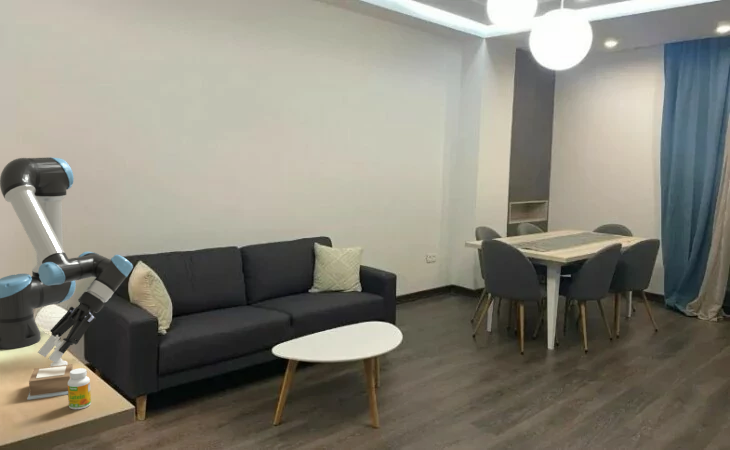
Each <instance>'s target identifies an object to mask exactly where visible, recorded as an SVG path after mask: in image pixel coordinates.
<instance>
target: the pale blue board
mask: <svg viewBox="0 0 730 450" xmlns="http://www.w3.org/2000/svg"><path fill="white" fill-rule="evenodd" d="M74 369H75V368H73V370H74ZM58 396H68V391H64V392H56V393H49V394H41V395H34V396H30V391H29V393H28V396H27V400H28V401H29V400H36V399H44V398H51V397H58Z"/></svg>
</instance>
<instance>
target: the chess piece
mask: <svg viewBox="0 0 730 450" xmlns="http://www.w3.org/2000/svg"><path fill="white" fill-rule="evenodd" d="M54 338H56V341H54V344H55V346H54V347H53V348H54V349H53V351H55V349H56V348H57V347H58V346H59V344H60V343H61V342H62V340H61V339H60V338H61V336H60V337H58V335H56V337H54ZM58 339H60V340H58ZM61 365H69V364H68V361H66V360H64V359H62V357H61V358H60V359H59V360H58V362H57V363H55V362H53V361H52V362H51V363H50V366H49V367H52V366H61Z"/></svg>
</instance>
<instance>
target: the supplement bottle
mask: <svg viewBox="0 0 730 450" xmlns="http://www.w3.org/2000/svg"><path fill="white" fill-rule="evenodd" d="M73 369H74V370H72V371H70V378H71V379H69V381H68V394H67V396H68V407H69V409H71V410H82V409H85V408H87V407H90V406H91V404H92V394H91V379H90V377H89V376H87V373H88V372H87V369H86V368H83V367H79V368H73Z"/></svg>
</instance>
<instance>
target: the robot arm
mask: <svg viewBox="0 0 730 450" xmlns="http://www.w3.org/2000/svg"><path fill="white" fill-rule="evenodd" d="M74 179H75V178H74V171H73V169H72V168H71V166H70V165H69V163H68V162H67V161H66V160H65V159H63V158H59V157H19V158H16V159H13V160H11V161H9V162H8V163H7V164H6V165H5V166H4V167H3V169H2V171H1V173H0V193H1V194H2V196H3V198H4V200H5V202H7V203H10V204H11V206H12V208H13V211H14V212H15V214H16V216H17V218H18V220H19V222H20V223H21V225H22V227H23V229H24V231H25V234H26V235H27V238H29V241H30V243H31V245H32V247H33V249H34V251H35V253H36V265H35V266H34V267H33V268H32V269H31V272H32V273H31V274H32V276H31V274H29V273H18V274H10V275H7V276H3V277H0V350H1V349H2V350H8V349H11V350H12V349H16V348H23V347H27V346H28V347H29V346H30V345H34V344H36V343H38V342H39V341H40V340H41V338H42V337H41V336H42V335H41V331H40V329H39V327H38V325H37V322H36V319H35V316H34V309H38V308H43V307H47V306H52V305H57V304H61V303H62V302H66V301H69V300H70V299H71V298H72V297H73V296H74V294H75V292H76V286H77V285H76V281H79V280H85V279H89V278H94V279H93V281H92V282H91V283H90V284H89V286H88V287H87V288H86V291H84V292H83V293H82V294H81V295H80V297H79V298H78V300H77V301H78V302H79V304H78V305H77V306H76V307H74V306H70V307H69V308H68V310H67V311H66V312H65V314H64V315H63V316H62V317H61V318H60V319H59V320H58V322H57V323H56V324H55V325H54V326H53V327H52V328H51V329H50V333H51V335H50V337H48V339H47V340H46V341H45V343H44V344H43V345H41V347H40V348H39V350H38V351H37V353H38V354H39V355H41V356H42V357H44V358H46V357H47V356H48V355H49V354H50V352H51V351H52V350H53V348H56V346H55V344H54V341H56V338H54V337H56V335H58V337H60V339H58V340H61V336H63V335H64V334H65V333H66V332H67V331H68V330H70V331H69V333H68V334H67V335H66V337H64V338H63V339H62V340H61V343H60V344H59V346H58V347H57V348H56V349H55V350H53V352H52V353H51V355H50V356H49V357H48V359H49V360H50V361H52V363H53V362H55V363H57V362H58V360H59V359H60V358H61V359H62V357H63V355H64V354H65V353H66V352H67V350H68V349H69V348H70V347H71V346H73V345H77V344H79V342H80V341H81V339H82V337H83V336H84V334H85V333H86V332H87V330H88V329H89V328H90V326H91V325H92V324H93V322H94V321H95V320H96V317H95V316H94V315H93V314H94V313H95V314H98V313H99V312H100V311H101V310H102V309H103V308H104V306H105V303H107V302H108V301H109V299H111V298H112V296H113V295H114V293H115V292H116V291H117V289H118V288H119V287H120V286H121V285H122V283H123V282H124V281H125V280H126V278H129V274H130V273H131V272H132V270H133V268H134V265H133V263H132V262H130V261H129V260H128V259H127V258H126V257H124V256H122V255H120V254H114V256H113V257H111V258H107V257H106V256H103V255H101V254H99V253H96V252H93V251H84V252H82V253H81V254H80V255H78V257H71V258H69V257H68V256H67V254H66V252H65V250H64V240H63V239H64V237H63V236H64V234H63V233H64V231H63V199H64V198H65V197H67V191H68V190H69V189H71V188H72V186H73V184H74ZM70 328H71V329H70Z"/></svg>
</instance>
